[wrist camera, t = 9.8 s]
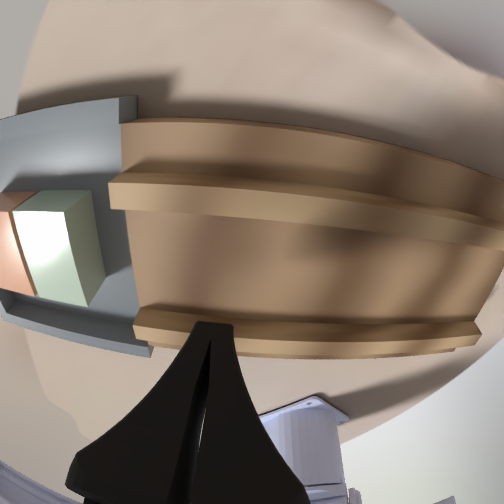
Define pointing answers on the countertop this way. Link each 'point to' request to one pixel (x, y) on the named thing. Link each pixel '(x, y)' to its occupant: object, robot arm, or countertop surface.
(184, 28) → the countertop surface
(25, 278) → the salmon pink block
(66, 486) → the robot arm
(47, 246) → the pale green upright block
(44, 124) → the tray
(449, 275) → the brown wooden rack
